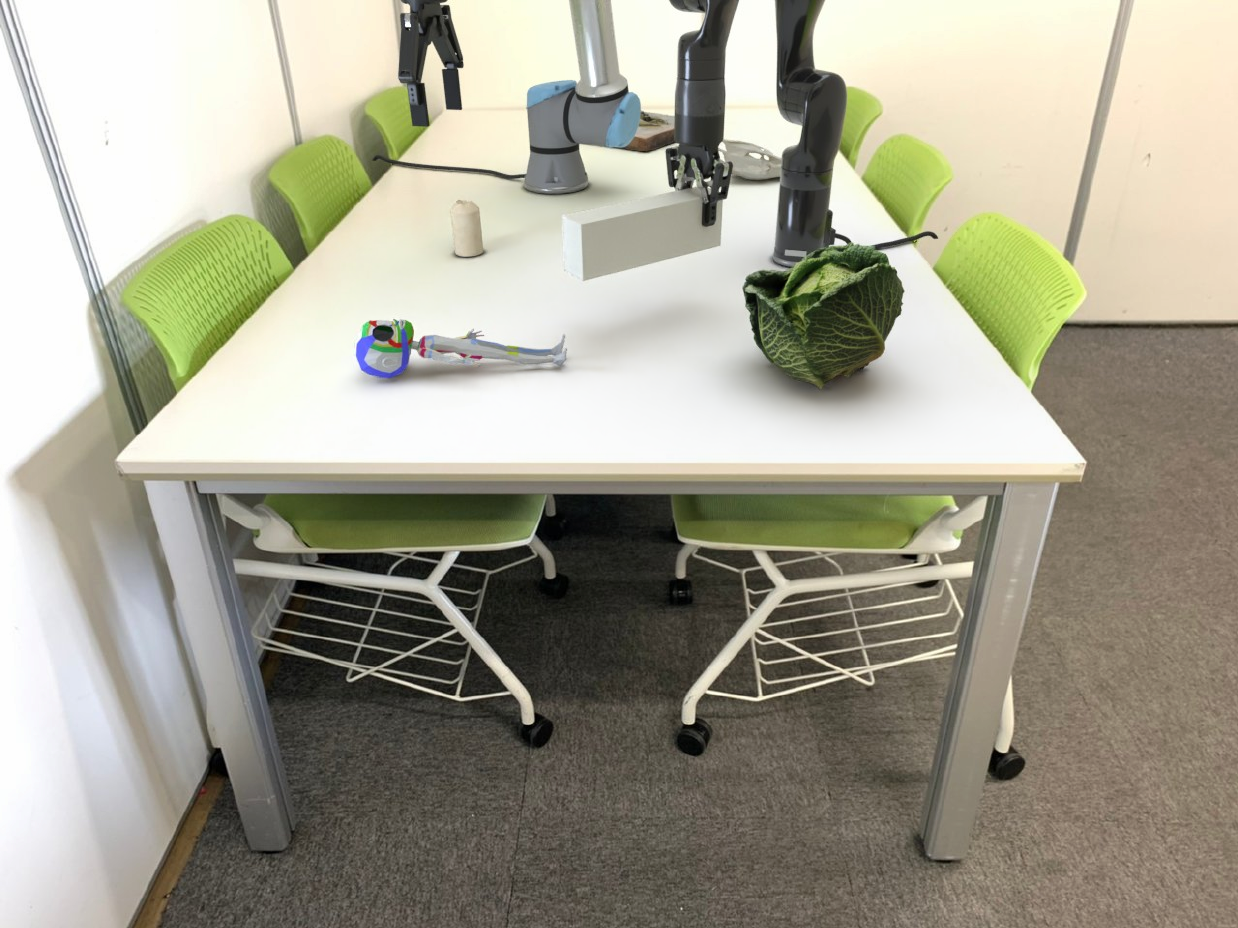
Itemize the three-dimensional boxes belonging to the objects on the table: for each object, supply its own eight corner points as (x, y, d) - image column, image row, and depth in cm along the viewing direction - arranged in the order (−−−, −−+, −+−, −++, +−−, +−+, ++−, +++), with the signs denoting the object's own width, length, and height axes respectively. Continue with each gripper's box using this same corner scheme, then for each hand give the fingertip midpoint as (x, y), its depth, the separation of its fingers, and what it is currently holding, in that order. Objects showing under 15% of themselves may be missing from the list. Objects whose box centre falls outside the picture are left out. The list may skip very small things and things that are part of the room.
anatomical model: (711, 132, 222) (813, 131, 218) (711, 170, 227) (811, 169, 223) (707, 147, 210) (815, 146, 206) (707, 186, 215) (813, 186, 211)
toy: (569, 347, 126) (349, 329, 122) (563, 400, 131) (350, 385, 126) (565, 318, 135) (359, 301, 130) (559, 369, 139) (360, 354, 134)
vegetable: (774, 398, 137) (714, 287, 129) (876, 327, 138) (822, 213, 130) (838, 431, 119) (772, 304, 111) (955, 349, 120) (897, 218, 112)
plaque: (647, 125, 237) (559, 112, 252) (647, 153, 241) (560, 139, 256) (706, 107, 258) (622, 97, 273) (705, 133, 262) (622, 121, 277)
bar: (583, 281, 132) (581, 224, 128) (564, 271, 136) (561, 215, 132) (720, 246, 145) (723, 193, 140) (699, 237, 149) (701, 185, 144)
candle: (488, 249, 176) (483, 198, 171) (475, 258, 172) (470, 206, 167) (463, 246, 178) (457, 196, 173) (450, 255, 174) (443, 204, 168)
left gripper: (408, -19, 129) (427, 134, 140) (474, -31, 149) (486, 104, 161) (361, -19, 130) (383, 132, 142) (432, -31, 151) (447, 102, 162)
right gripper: (750, 113, 131) (743, 228, 140) (689, 99, 141) (686, 206, 150) (711, 120, 127) (706, 237, 136) (651, 105, 137) (650, 214, 146)
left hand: (438, 117), depth 151 cm, fingers open, 13 cm apart
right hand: (696, 220), depth 143 cm, fingers closed on bar, 5 cm apart
